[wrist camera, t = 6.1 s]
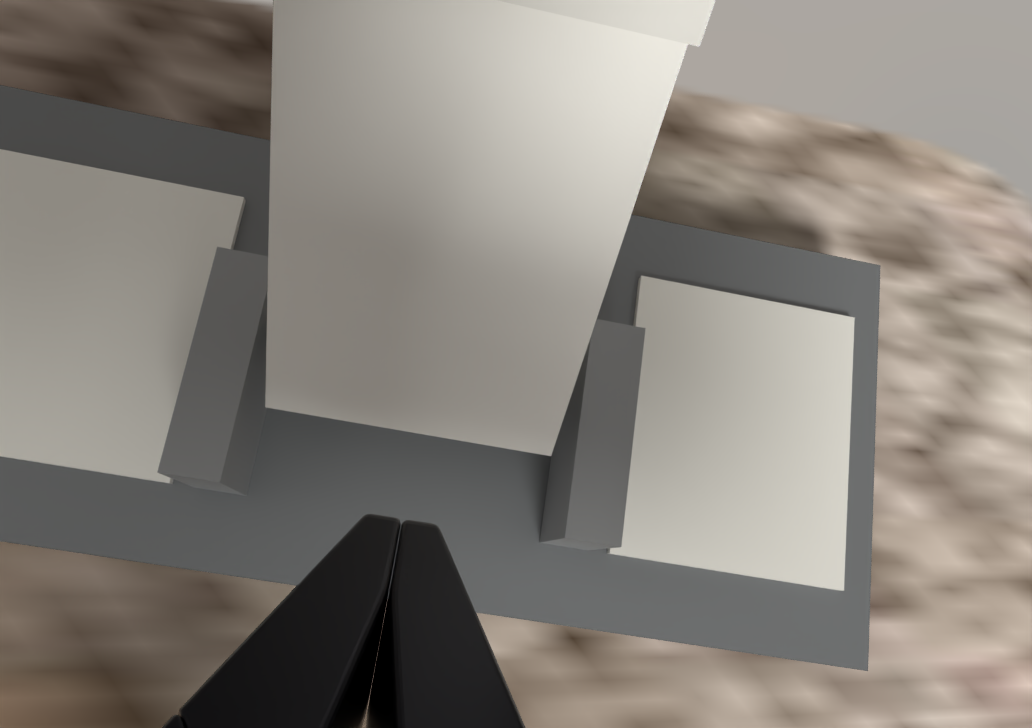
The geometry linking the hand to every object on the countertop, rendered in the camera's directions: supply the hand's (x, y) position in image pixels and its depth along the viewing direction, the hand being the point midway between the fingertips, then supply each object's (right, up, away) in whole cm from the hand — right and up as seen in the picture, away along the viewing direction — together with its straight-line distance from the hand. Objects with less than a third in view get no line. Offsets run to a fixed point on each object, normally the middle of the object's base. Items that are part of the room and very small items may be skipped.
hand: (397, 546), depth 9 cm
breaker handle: (0, +1, +6) cm, 6 cm away
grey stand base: (-1, +1, +9) cm, 10 cm away
